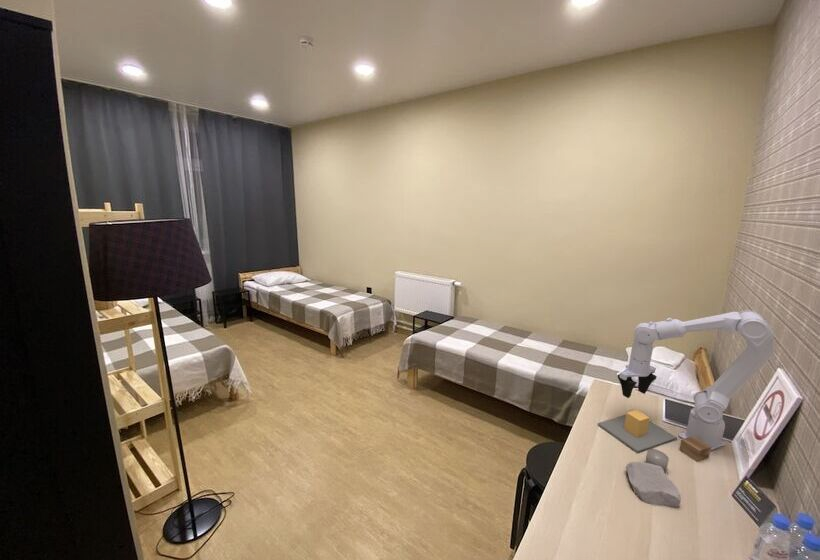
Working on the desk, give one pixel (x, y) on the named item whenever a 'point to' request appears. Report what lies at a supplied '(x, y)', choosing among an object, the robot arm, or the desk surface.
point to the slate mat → (637, 444)
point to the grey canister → (657, 458)
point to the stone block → (653, 484)
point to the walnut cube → (695, 448)
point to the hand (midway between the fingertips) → (633, 394)
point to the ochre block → (636, 423)
